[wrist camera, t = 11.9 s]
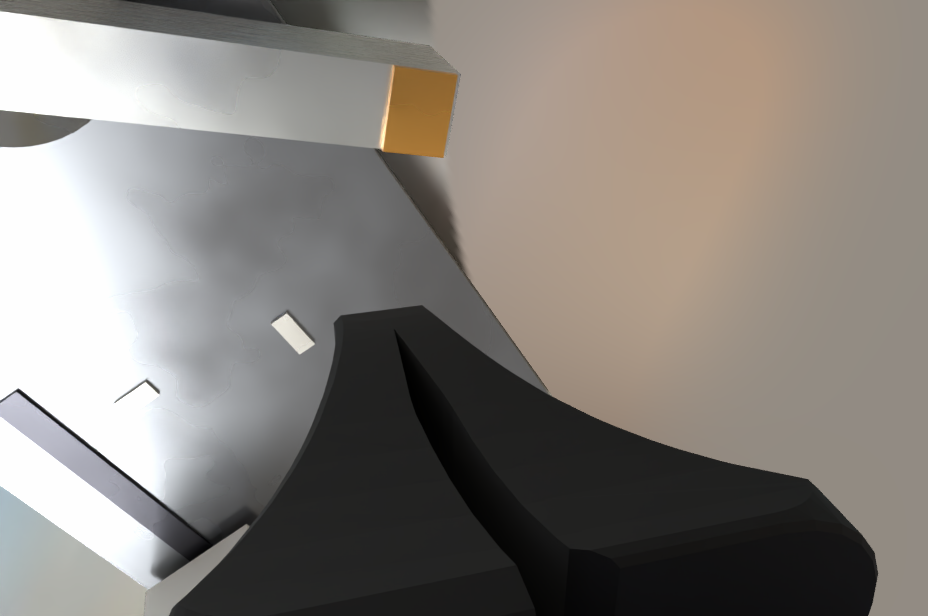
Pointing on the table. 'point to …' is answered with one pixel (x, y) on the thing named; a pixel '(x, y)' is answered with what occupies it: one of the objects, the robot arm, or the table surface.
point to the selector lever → (215, 77)
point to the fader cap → (187, 577)
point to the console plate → (193, 318)
